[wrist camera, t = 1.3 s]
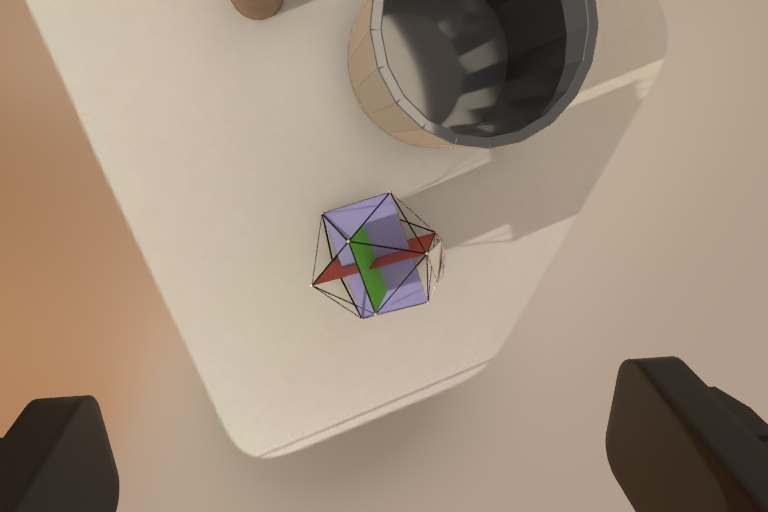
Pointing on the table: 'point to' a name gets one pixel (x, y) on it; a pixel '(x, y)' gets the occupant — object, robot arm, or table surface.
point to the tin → (469, 67)
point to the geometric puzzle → (378, 256)
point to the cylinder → (257, 8)
